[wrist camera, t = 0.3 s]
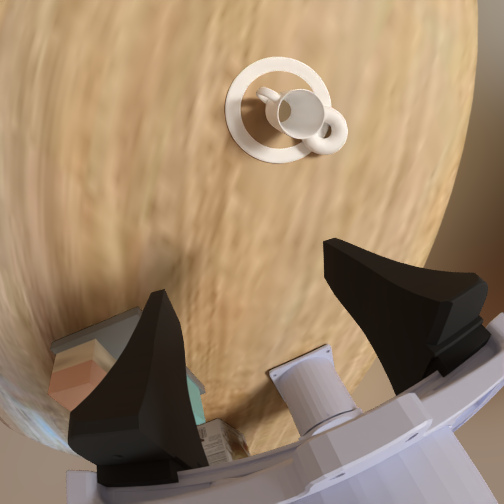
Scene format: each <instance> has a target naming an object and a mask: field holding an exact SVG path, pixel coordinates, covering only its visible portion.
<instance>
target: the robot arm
mask: <svg viewBox="0 0 504 504" xmlns="http://www.w3.org/2000/svg"><path fill="white" fill-rule="evenodd" d="M323 252H324V278H325V279H326V281H327V283H328V285H329V286H330V288H331V290H332V291H333V293H334V295H335V296H336V297H337V298H338V300H339V301H340V302H341V304H342V305H343V306H344V307H345V309H346V310H347V311H348V312H349V314H350V315H351V316H352V317H353V319H354V320H355V321H356V323H357V324H358V325H359V326H360V328H361V329H362V331H363V332H364V334H365V335H366V337H367V339H368V340H369V342H370V344H371V345H372V347H373V349H374V351H375V352H376V354H377V356H378V358H379V360H380V362H381V363H382V366H383V368H384V370H385V372H386V374H387V376H388V378H389V380H390V382H391V385H392V387H393V390H394V392H395V394H396V396H395V397H393V398H392V399H390V400H388V401H386V402H384V403H383V404H381V405H379V406H377V407H375V408H373V409H371V410H369V411H367V412H365V413H363V412H362V410H361V408H357V406H356V404H355V403H354V401H353V399H352V397H351V396H350V394H349V392H348V391H347V389H346V387H345V386H344V384H343V382H342V380H341V379H340V377H339V375H338V374H337V372H336V370H335V368H334V362H333V356H332V350H331V346H330V345H329V344H327V345H325V346H322V347H320V348H318V349H316V350H314V351H312V352H310V353H308V354H306V355H304V356H301V357H299V358H297V359H295V360H293V361H290V362H288V363H286V364H283V365H281V366H279V367H276V368H274V369H272V370H270V371H269V375H270V377H271V379H272V381H273V382H274V384H275V386H276V388H277V390H278V391H279V393H280V395H281V397H282V398H283V400H284V402H285V403H287V406H288V408H289V410H290V413H291V415H292V417H293V420H294V422H295V424H296V427H297V429H298V431H299V434H300V436H301V437H300V438H299V441H297V442H294V443H291V444H289V445H286V446H283V447H280V448H277V449H273V450H270V451H267V452H264V453H260V454H257V455H253V456H250V457H246V458H242V459H238V460H234V461H230V462H226V463H222V464H217V465H212V466H209V463H208V460H207V457H206V454H205V451H204V449H203V445H202V442H201V439H200V435H199V432H198V429H197V425H196V421H195V417H194V414H193V410H192V405H191V401H190V397H189V391H188V385H187V374H186V363H185V350H184V341H183V335H182V330H181V325H180V322H179V320H178V317H177V315H176V313H175V311H174V309H173V307H172V305H171V302H170V300H169V298H168V296H167V293H166V291H165V289H163V290H159V291H156V292H152V293H151V294H150V296H149V299H148V301H147V303H146V305H145V308H144V310H143V312H142V315H141V317H140V319H139V321H138V323H137V325H136V328H135V330H134V332H133V334H132V335H131V337H130V339H129V341H128V343H127V345H126V347H125V348H124V350H123V352H122V353H121V355H120V356H119V358H118V360H117V361H116V362H115V364H114V365H113V367H112V368H111V369H110V371H109V372H108V373H107V374H106V376H105V377H104V378H103V380H102V381H101V382H100V383H99V384H98V386H97V387H96V388H95V389H94V390H93V391H92V392H91V393H90V394H89V395H88V396H87V397H86V398H85V399H84V400H83V401H82V402H81V403H80V404H79V405H78V406H77V407H76V408H74V409H73V410H72V411H71V412H70V420H69V431H68V445H69V446H70V447H71V449H72V450H73V451H74V452H76V453H77V454H79V455H80V456H82V457H83V458H85V459H87V460H88V461H90V462H92V463H94V464H95V465H97V472H93V471H84V470H83V471H82V470H67V471H66V494H67V504H498V502H497V501H496V499H495V497H494V496H493V494H492V492H491V491H490V489H489V487H488V486H487V484H486V483H485V481H484V479H483V478H482V476H481V474H480V473H479V471H478V470H477V468H476V467H475V465H474V464H473V462H472V461H471V459H470V457H469V456H468V454H467V453H466V451H465V450H464V448H463V447H462V445H461V444H460V443H459V441H458V439H457V438H456V437H455V435H454V434H453V432H454V431H455V430H457V429H458V428H459V427H460V426H462V425H463V424H464V423H465V422H466V421H467V420H469V419H470V418H471V417H472V416H473V415H474V414H475V413H476V412H477V411H478V410H480V409H481V408H482V407H483V406H484V405H485V404H486V403H487V402H488V401H489V400H490V399H491V398H492V397H493V396H494V395H495V394H496V393H497V392H498V391H499V390H500V389H501V388H502V387H503V386H504V314H503V313H500V314H499V315H498V316H497V317H496V318H495V319H493V320H492V321H491V322H490V323H489V324H488V325H487V327H486V328H485V327H484V326H483V325H482V323H483V319H482V318H481V317H480V316H479V314H480V311H481V309H482V307H483V304H484V302H485V299H486V296H487V292H488V285H487V283H486V282H485V281H484V280H483V279H481V278H480V277H479V276H478V275H476V274H475V273H459V272H457V273H456V272H445V271H437V270H430V269H425V268H420V267H415V266H411V265H407V264H404V263H400V262H397V261H394V260H391V259H388V258H385V257H382V256H380V255H377V254H374V253H372V252H369V251H367V250H364V249H362V248H360V247H357V246H355V245H353V244H350V243H348V242H345V241H343V240H340V239H337V238H332V239H329V240H326V241H323Z"/></svg>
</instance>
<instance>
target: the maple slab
mask: <svg viewBox="0 0 504 504" xmlns="http://www.w3.org/2000/svg"><path fill="white" fill-rule="evenodd" d="M89 360H94V361H95V362H96V363H97V364H98V365H99V366H100V367H101V368H102V369H103V370H104V371H105V372H106V373H108V372H109V371H110V369H111V368H112V367H113V365H114V364H115V362H116V361H117V360H116V359H115V358H114V357H113V356H112V355H111V354H110V353H109V352H108V351H107V350H106V349H105V348H104V347H103V346H102V345H101V344H100V343H99V342H98V341H97V340H96V339H93V340H91V341H88V342H86V343H83V344H81V345H78V346H75V347H73V348H70V349H68V350H65V351H62V352H60V353H57V354H56V358H55V362H54V366H53V370H52V373H54V372H57V371H60V370H63V369H66V368H69V367H72V366H75V365H77V364H80V363H83V362H86V361H89Z"/></svg>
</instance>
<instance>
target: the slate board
mask: <svg viewBox="0 0 504 504" xmlns="http://www.w3.org/2000/svg"><path fill="white" fill-rule="evenodd" d="M141 315H142V311H141V310H140V308H139V307H136V308H133V309H131V310H129V311H126V312H124V313H122V314H119V315H117V316H114V317H112V318H110V319H107V320H105V321H102V322H100V323H98V324H95V325H93V326H90V327H88V328H86V329H83V330H81V331H78V332H76V333H74V334H71V335H69V336H66V337H64V338H62V339H59V340H57V341H54V342H52V345H51V348H50V350H51V351H52V352H53V353H54V354H55V355H56V354H57V353H60V352H62V351H65V350H68V349H70V348H73V347H75V346H78V345H81V344H83V343H86V342H88V341H91V340H93V339H96V340H97V341H98V342H99V343H100V344H101V345H102V346H103V347H104V348H105V349H106V350H107V351H108V352H109V353H110V354H111V355H112V356H113V357H114V358H115V359H116V360H118V358H119V356H120V355H121V353H122V352H123V350H124V348H125V347H126V345H127V343H128V341H129V339H130V337H131V335H132V334H133V332H134V330H135V328H136V325H137V323H138V321H139V319H140V317H141ZM186 374H187V377H188V378H189V379H190V380H191V381H192V382H193V383H194V384H195V385H196V386H197V387H198V388H199V392H200V395H201V394H204V393H205V388H204V385H203V384H202V383H201V382H200V381H199V380H198V379H197V378H196V377H195V376H194V374H193V373H192V372H191V371H190V370H189V369H188V368H187V367H186Z"/></svg>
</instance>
